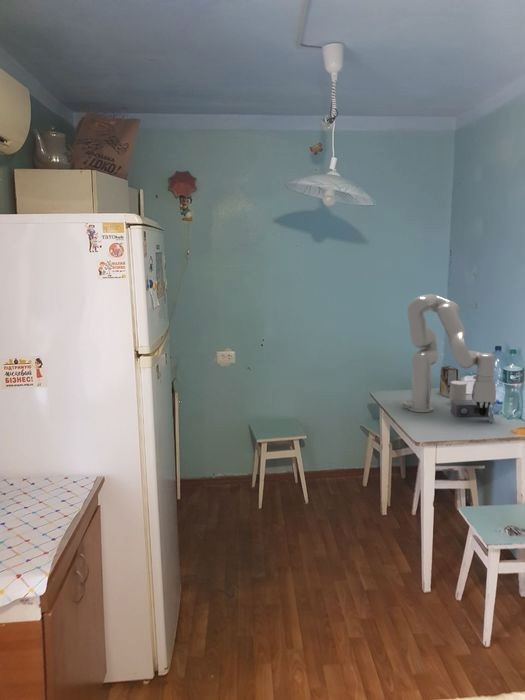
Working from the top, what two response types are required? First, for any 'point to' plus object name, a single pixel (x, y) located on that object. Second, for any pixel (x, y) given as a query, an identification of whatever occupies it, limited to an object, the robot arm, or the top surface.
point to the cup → (457, 390)
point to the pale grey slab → (491, 412)
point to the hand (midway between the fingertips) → (482, 414)
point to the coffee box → (447, 379)
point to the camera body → (466, 408)
